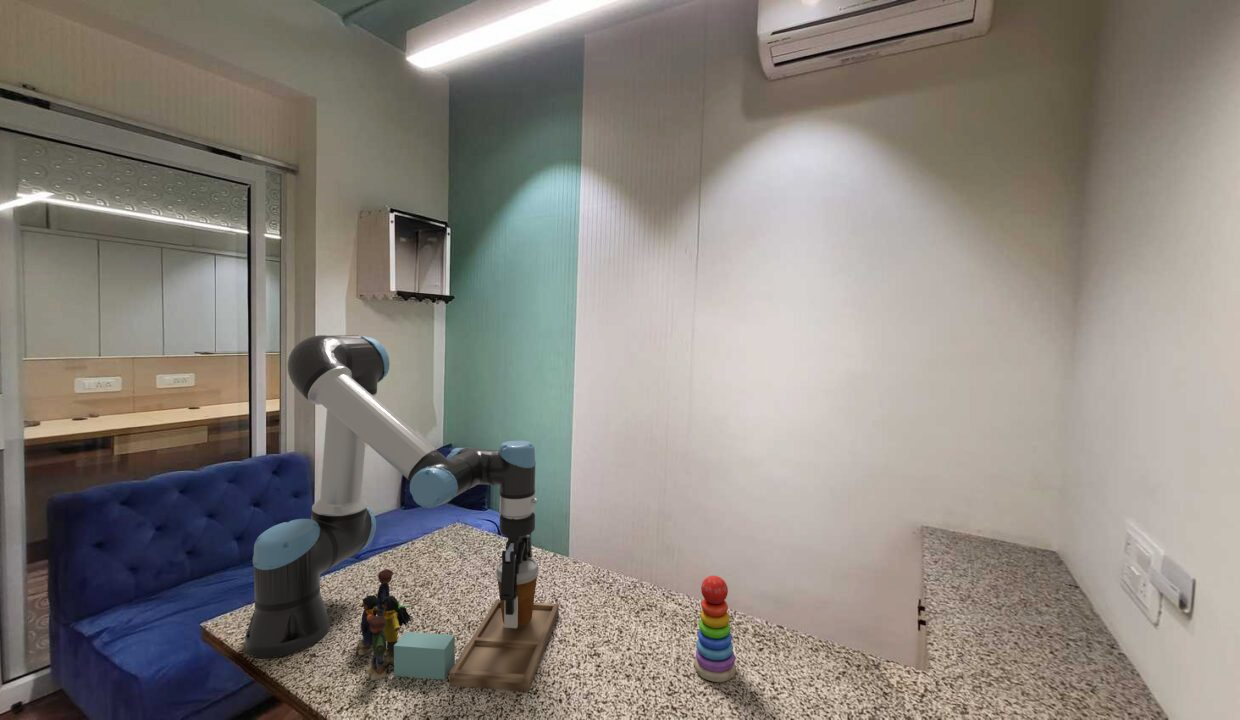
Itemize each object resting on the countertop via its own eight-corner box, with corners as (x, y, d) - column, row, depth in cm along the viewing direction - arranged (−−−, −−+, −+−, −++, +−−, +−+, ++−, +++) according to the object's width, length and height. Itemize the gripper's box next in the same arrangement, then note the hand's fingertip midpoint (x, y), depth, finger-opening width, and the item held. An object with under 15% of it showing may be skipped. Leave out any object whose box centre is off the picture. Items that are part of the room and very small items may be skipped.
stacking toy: (706, 652, 103) (708, 563, 102) (742, 668, 98) (744, 575, 97) (686, 671, 97) (688, 577, 96) (723, 690, 92) (725, 591, 91)
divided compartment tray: (449, 685, 92) (449, 672, 92) (496, 610, 118) (496, 600, 117) (528, 691, 91) (528, 678, 91) (558, 614, 116) (558, 603, 116)
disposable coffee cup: (515, 637, 102) (515, 580, 102) (485, 620, 108) (485, 566, 107) (548, 616, 110) (548, 563, 109) (519, 602, 116) (519, 551, 115)
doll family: (343, 631, 109) (342, 571, 108) (387, 616, 115) (387, 559, 114) (374, 688, 91) (373, 617, 91) (424, 667, 97) (423, 600, 97)
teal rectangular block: (394, 676, 95) (393, 645, 94) (406, 660, 99) (406, 631, 99) (444, 680, 94) (444, 649, 94) (454, 664, 98) (454, 635, 98)
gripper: (520, 532, 97) (519, 646, 98) (546, 498, 118) (545, 592, 119) (483, 531, 98) (483, 643, 99) (515, 497, 119) (514, 590, 120)
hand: (517, 615), depth 109 cm, fingers closed on disposable coffee cup, 8 cm apart
